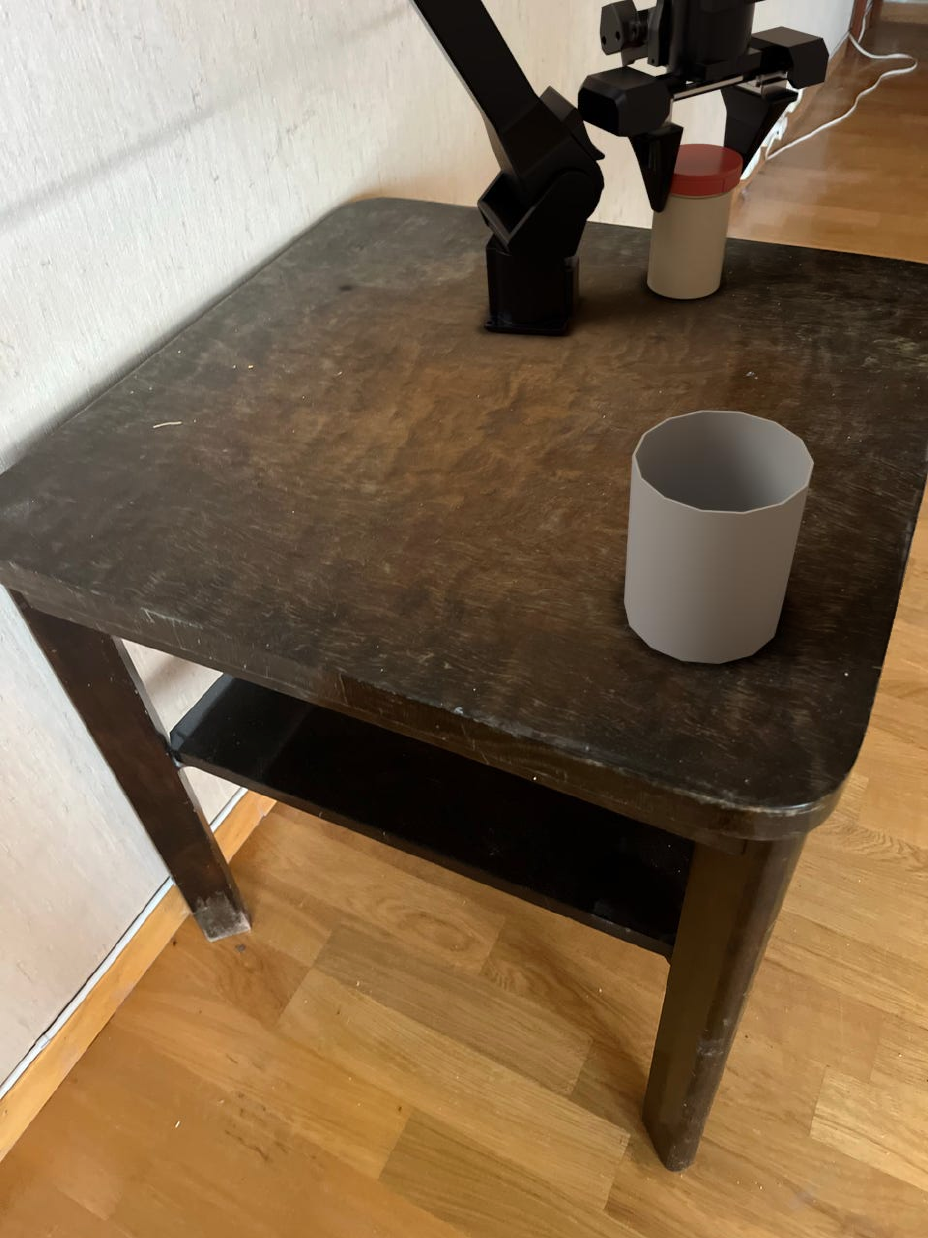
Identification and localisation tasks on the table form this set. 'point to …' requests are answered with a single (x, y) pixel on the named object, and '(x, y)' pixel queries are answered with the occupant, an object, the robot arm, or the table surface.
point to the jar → (689, 245)
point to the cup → (713, 533)
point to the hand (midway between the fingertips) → (692, 199)
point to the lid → (705, 170)
